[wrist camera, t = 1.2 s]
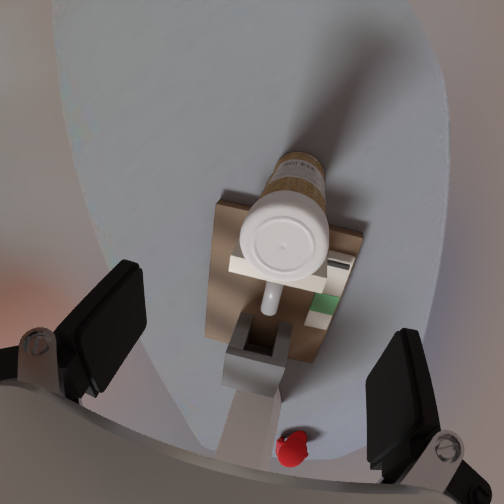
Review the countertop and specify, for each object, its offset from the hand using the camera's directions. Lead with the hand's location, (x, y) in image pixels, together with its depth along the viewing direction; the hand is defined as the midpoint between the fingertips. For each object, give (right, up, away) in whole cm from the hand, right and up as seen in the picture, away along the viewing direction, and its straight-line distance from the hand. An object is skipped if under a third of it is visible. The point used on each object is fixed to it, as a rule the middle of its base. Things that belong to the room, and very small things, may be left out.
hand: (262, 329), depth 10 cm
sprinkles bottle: (+4, +10, +16) cm, 19 cm away
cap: (+8, -33, +39) cm, 52 cm away
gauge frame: (+2, -2, +23) cm, 23 cm away
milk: (+1, -19, +33) cm, 38 cm away
